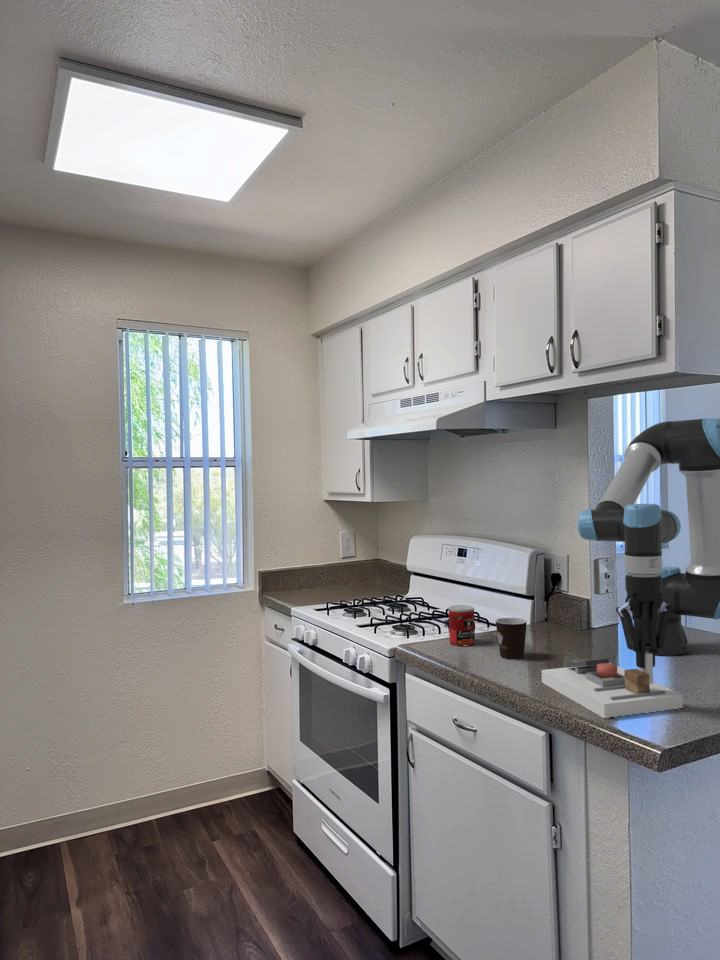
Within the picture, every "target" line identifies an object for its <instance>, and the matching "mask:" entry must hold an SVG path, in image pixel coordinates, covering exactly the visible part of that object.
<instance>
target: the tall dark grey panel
mask: <svg viewBox="0 0 720 960" xmlns="http://www.w3.org/2000/svg"><path fill="white" fill-rule="evenodd" d="M601 663H610V661H609V658H600V659H599V658H598V659H587V660H586V659H585V660H583V659H582V660H574V661H569V662H565V664H566V665H565V666H566V667H567V668H568V667H583V666H594V665H597V664H601Z"/></svg>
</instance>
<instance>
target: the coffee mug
mask: <svg viewBox="0 0 720 960" xmlns="http://www.w3.org/2000/svg"><path fill="white" fill-rule="evenodd" d="M527 623H528V621H527V619H524V618H519V617H502V618H497V619H495V629H496V634H497V641H498V649H499V657H500V656H501V657H502V659H504V658H506V659H505V660H510V659H517V660H522V659H523V658H524V656H525V648H526V647H525V645H526V635H527V634H526V633H527V625H528V624H527ZM501 657H500V658H501Z"/></svg>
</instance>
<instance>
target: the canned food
mask: <svg viewBox="0 0 720 960" xmlns="http://www.w3.org/2000/svg"><path fill="white" fill-rule="evenodd" d="M448 632H449V635H448V636H449V637H448V638H449V643H450V644H451V643H452V644H455V645H471V646H473V645H475V642H476V638H475V636H476V634H475V633H476V632H475V607H474V606H472V605H467V604H456V605H450V606H448ZM452 644H451V645H452Z"/></svg>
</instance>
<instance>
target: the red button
mask: <svg viewBox="0 0 720 960" xmlns="http://www.w3.org/2000/svg"><path fill="white" fill-rule="evenodd" d="M609 663H610V662H609ZM609 663H601V664H597V675H599V676H602V677H617V676H618V675H617V666H618V665H617V664H614V663H611V664H609Z"/></svg>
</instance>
